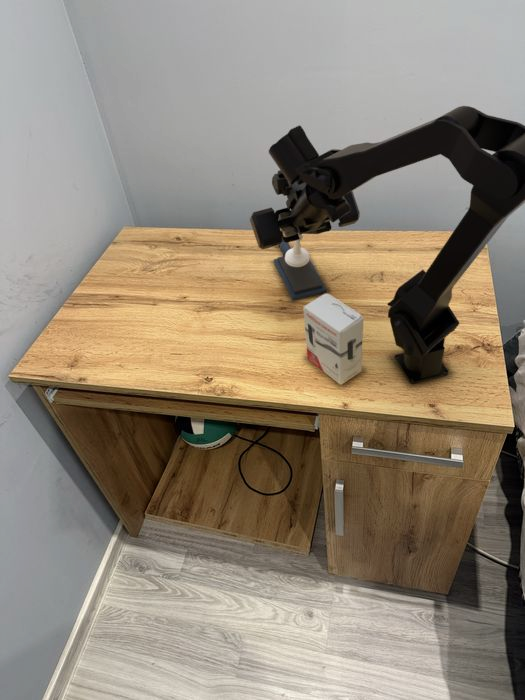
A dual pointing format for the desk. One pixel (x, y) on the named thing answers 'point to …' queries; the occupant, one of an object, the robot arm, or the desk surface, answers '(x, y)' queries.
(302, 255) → the chess piece
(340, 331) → the ink box
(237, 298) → the desk surface
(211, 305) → the desk surface
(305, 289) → the scrub brush
